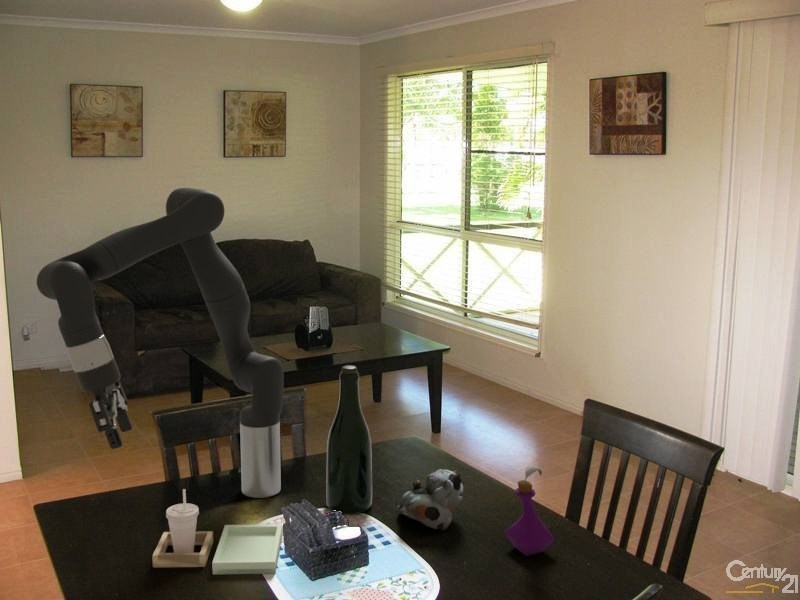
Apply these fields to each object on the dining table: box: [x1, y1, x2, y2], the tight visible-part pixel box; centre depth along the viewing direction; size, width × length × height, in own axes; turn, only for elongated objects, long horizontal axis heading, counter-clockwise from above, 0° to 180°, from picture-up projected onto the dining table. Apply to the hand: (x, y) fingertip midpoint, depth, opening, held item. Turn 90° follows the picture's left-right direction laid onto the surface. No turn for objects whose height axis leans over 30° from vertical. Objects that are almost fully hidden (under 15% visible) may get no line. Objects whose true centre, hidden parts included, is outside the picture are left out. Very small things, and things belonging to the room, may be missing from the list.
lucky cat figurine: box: [396, 468, 464, 532], centre depth 183 cm, size 15×12×14 cm
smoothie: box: [165, 488, 200, 553], centre depth 166 cm, size 6×6×14 cm
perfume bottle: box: [503, 464, 556, 557], centre depth 169 cm, size 8×8×18 cm
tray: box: [211, 524, 283, 575], centre depth 167 cm, size 16×12×2 cm
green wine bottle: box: [325, 364, 373, 515], centre depth 187 cm, size 10×10×33 cm
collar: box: [152, 530, 214, 568], centre depth 167 cm, size 10×10×2 cm
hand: (122, 438), depth 161 cm, fingers open, 8 cm apart
